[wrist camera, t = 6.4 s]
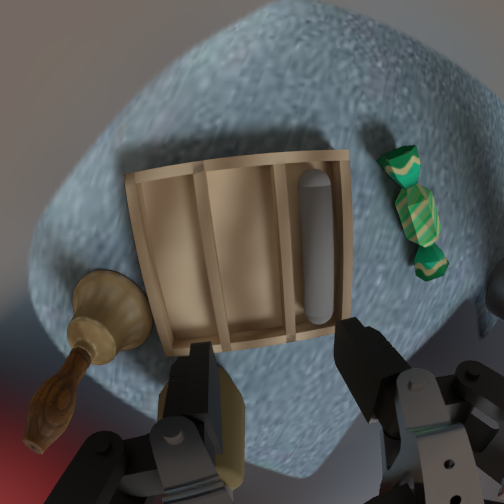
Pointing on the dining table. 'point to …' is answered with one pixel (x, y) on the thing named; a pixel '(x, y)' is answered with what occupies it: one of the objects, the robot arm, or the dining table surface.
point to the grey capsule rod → (317, 244)
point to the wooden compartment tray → (235, 248)
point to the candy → (416, 211)
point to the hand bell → (88, 348)
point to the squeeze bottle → (226, 432)
